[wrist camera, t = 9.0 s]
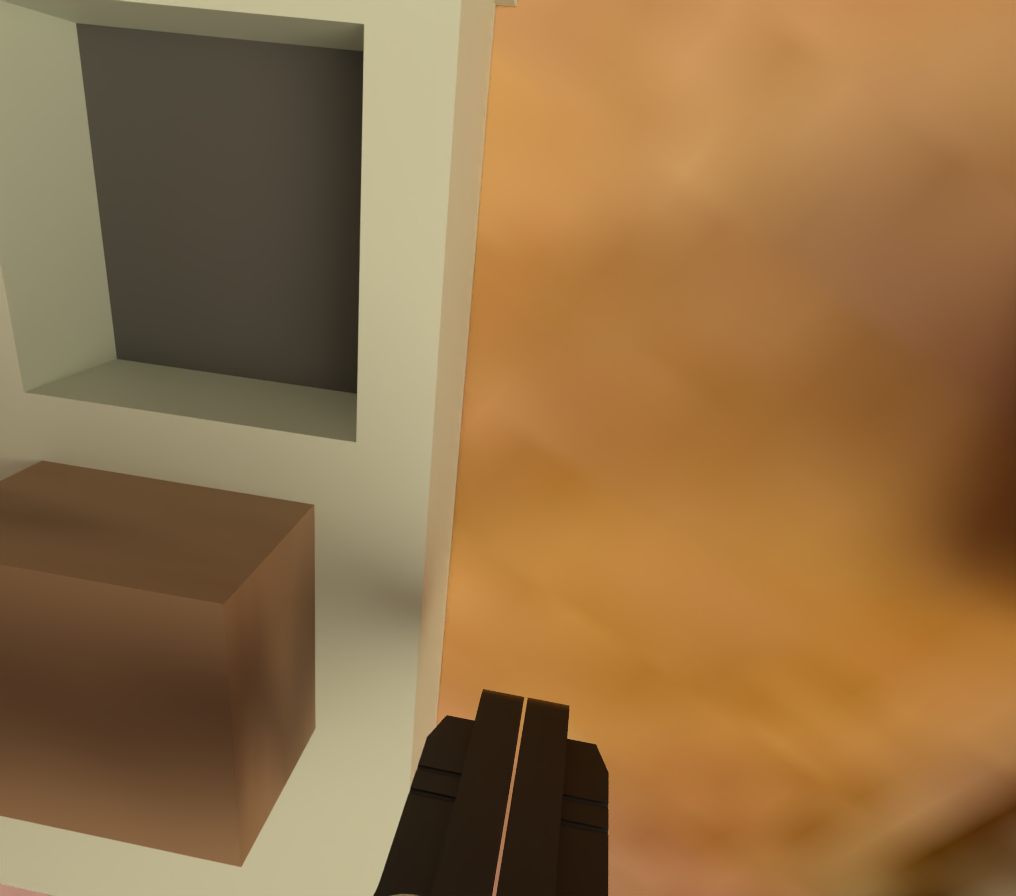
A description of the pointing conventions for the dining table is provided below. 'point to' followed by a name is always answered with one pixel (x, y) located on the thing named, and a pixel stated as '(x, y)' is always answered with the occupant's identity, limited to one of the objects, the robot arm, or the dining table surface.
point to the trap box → (256, 346)
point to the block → (152, 657)
